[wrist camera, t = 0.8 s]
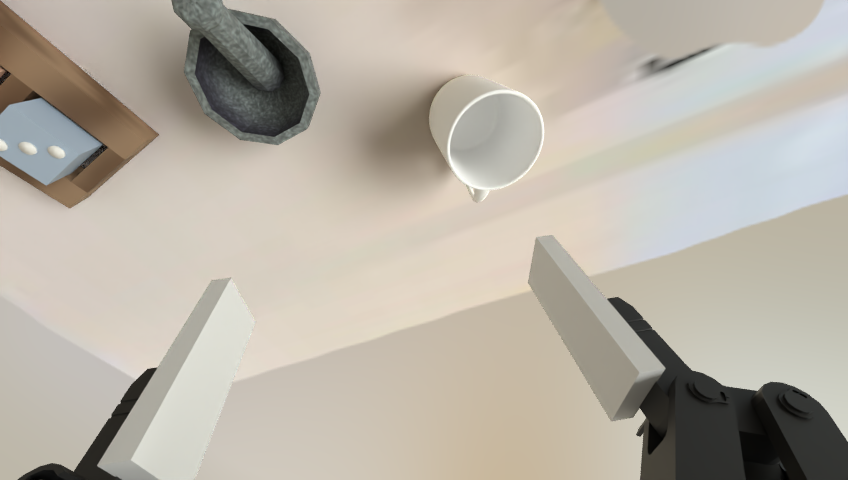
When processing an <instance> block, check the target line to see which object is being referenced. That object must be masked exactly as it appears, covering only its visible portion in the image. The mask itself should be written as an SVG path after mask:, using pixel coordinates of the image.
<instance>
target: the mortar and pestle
mask: <svg viewBox="0 0 848 480" xmlns="http://www.w3.org/2000/svg"><path fill="white" fill-rule="evenodd" d="M172 5H173V9H174V12H175V13H176V14H177V15H178V16H179V17H180V18H181V19H182V20H183V21H184V22H185V23H186V24H187V25H188V26H189V27H190V28H191V29H192V30H190V35H189V42H188V49H187V55H186V62H185V68H184V73H185V75H186V77H187V79H188V81H189V83H190V85H191V87H192V89H193V91H194V93H195V95H196V97H197V99H198V101H199V103H200V105H201V107H202V109H203V111H204V113H205V114H206V115H207V116H209V117H210V118H211V119H213V120H214V121H215V122H217V123H218V124H219V125H221V126H222V127H224V128H225V129H226V130H228V131H229V132H230V133H232V134H233V135H234V136H236V137H237V138H238V139H240V140H245V141H253V142H260V143H267V144H274V145H279V144H281V143H282V142H284V141H286V140H288V139H290V138H292V137H293V136H295V135H297V134H299V133H301V132H302V131H304V130H306V129H307V128H308V126H309V124H310V122H311V119H312V116H313V113H314V110H315V107H316V105H317V102H318V99H319V96H320V88H319V85H318V81H317V78H316V74H315V71H314V67H313V64H312V60H311V57H310V53H309V52H308V51H307V50H306V49H305V48H304V47H303V46H302V45H301V44H300V43H299V42H298V41H297V40H296V39H295V38H294V37H293V36H292V35H291V34H290V33H289V32H288V31H287V30H286V29H285V28H284V27H283V26H282V25H281V24H280V23H279V22H278V21H277V20H275V19H272V18H267V17H263V16H258V15H254V14H249V13H245V12H240V11H236V10H231V9H227V8H226V7H225V6H224V5H223V2H222V0H172Z"/></svg>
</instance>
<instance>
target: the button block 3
mask: <svg viewBox="0 0 848 480" xmlns="http://www.w3.org/2000/svg"><path fill="white" fill-rule="evenodd" d="M102 145H103V144H102V143H101V142H99V141H98V140H97V139H95V138H94V137H93V136H91V135H90V134H89V133H87V132H86V131H85V130H83V129H82V128H81V127H79V126H78V125H77V124H76V123H74V122H73V121H72V120H70V119H69V118H68V117H66V116H65V115H64V114H62V113H61V112H60V111H58V110H57V109H56V108H54V107H53V106H52V105H50V104H49V103H48V102H46V101H45V100H44V99H42V98H39V99H34V100H29V101H25V102H20V103H15V104H11V105H9V106H8V107H7V108H6V109H5V110H4V111H3V112H2V113H1V114H0V157H2V158H4V159H5V160H7V161H8V162H10V163H11V164H13V165H15V166H16V167H18V168H19V169H21V170H22V171H24V172H26V173H27V174H29V175H30V176H32V177H34V178H35V179H37V180H38V181H40V182H41V183H43V184H45V185H46V186H47V185H49V184H51V183H53V182H55V181H57V180H59V179H61V178H63V177H65V176H67V175H69V174H71V173H72V172H74V171H75V170H76V169H77V168H78V167H79V166H80V165H81V164H82V163H83V162H84V161H86V160H87V159H88V158H89V157H90V156H91V155H92V154H93V153H94V152H95V151H96V150H97V149H99V148H100V147H101V146H102Z"/></svg>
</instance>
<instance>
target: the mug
mask: <svg viewBox="0 0 848 480" xmlns="http://www.w3.org/2000/svg"><path fill="white" fill-rule="evenodd" d="M429 126H430V130H431V133H432V136H433V138H434V140H435V142H436V144H437V146H438V147H439V149H440V151H441V153H442V155H443V156H444V158H445V160H446V162H447V163H448V165H449V167H450V169H451V170H452V172H453V173H454V175H455V176H456V177H457V178H458V179H459V180H460V181H461V182H462V183H463V184H465V185H466V187H467V189H468V191H469V193H470V195H471V197H472V199H473V201H475V202H477V203H478V202H481V201H483V200H484V199H485V198H486V196H487V195H488V193H489V191H490V190H496V189H500V188H503V187H506V186H508V185H510V184H512V183H514V182H516V181H517V180H519V179H520V178H521V177H522V176H524V175H525V174H526V173H527V172H528V171H529V169H530V168H531V167H532V166H533V164H534V163H535V161H536V159H537V157H538V155H539V153H540V151H541V148H542V144H543V139H544V125H543V119H542V116H541V113H540V111H539V109H538V108H537V106H536V105H535V104H534V102H533V101H532V100H531V99H530V98H528V97H527V96H525V95H524V94H522V93H520V92H517V91H515V90H513V89H511V88H508V87H506V86H504V85H501V84H499V83H497V82H495V81H492V80H490V79H488V78H485V77H482V76H478V75H463V76H459V77H457V78H454V79H452V80H451V81H449V82H447V83H446V84H445V85H444V86H443V87H442V88H441V89H440V90H439V91H438V93H437V94H436V96H435V97H434V99H433V102H432V104H431V108H430V113H429ZM472 188H474V193H473V189H472Z"/></svg>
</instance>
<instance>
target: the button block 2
mask: <svg viewBox="0 0 848 480" xmlns="http://www.w3.org/2000/svg"><path fill="white" fill-rule="evenodd" d="M5 72H6V71H5V70H4V69H3V68H1V67H0V77H1V76H2V75H3V74H4V73H5Z"/></svg>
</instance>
